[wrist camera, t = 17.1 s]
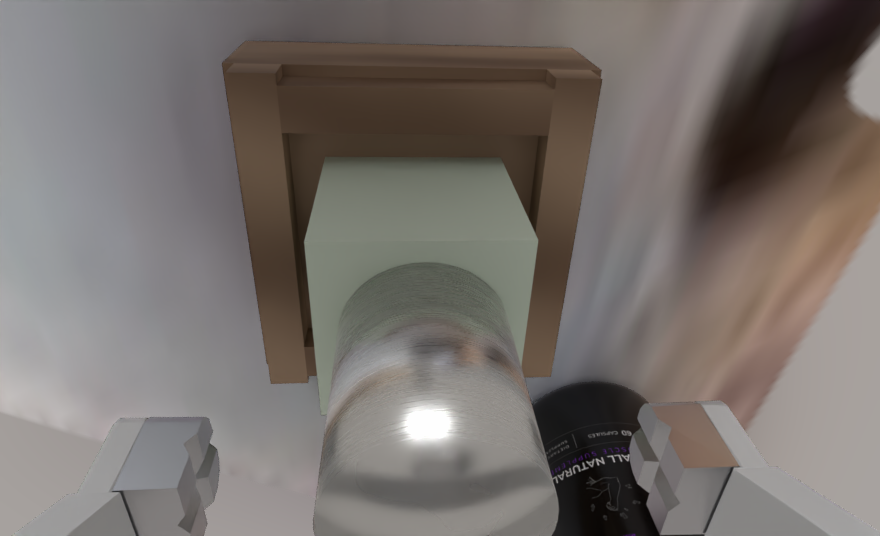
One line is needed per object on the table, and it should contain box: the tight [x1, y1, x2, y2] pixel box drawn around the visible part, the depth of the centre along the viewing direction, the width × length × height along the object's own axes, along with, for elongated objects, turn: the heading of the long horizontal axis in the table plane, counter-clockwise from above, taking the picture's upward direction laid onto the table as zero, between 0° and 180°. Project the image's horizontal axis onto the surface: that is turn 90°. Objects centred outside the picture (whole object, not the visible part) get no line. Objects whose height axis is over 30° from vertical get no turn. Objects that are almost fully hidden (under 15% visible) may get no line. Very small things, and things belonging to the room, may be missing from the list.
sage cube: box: [304, 157, 538, 415], centre depth 16 cm, size 5×5×5 cm
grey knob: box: [313, 262, 559, 536], centre depth 12 cm, size 4×4×5 cm
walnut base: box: [222, 41, 602, 384], centre depth 19 cm, size 10×10×4 cm
